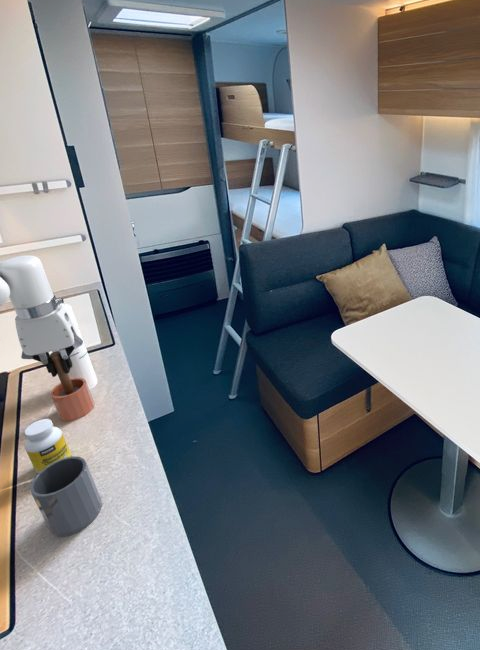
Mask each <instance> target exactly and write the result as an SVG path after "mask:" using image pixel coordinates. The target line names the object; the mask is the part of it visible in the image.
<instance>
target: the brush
mask: <svg viewBox="0 0 480 650" xmlns="http://www.w3.org/2000/svg"><path fill="white" fill-rule="evenodd" d="M49 354H50V357H51V359H52V362H53V364H54V367H55V369H56V372H57V376H58V379H59V383H61V384H62V387H63V389H64V392H62V394H61V396H65V395H69V394H71V393H73V392H75V391H77V390H78V389H79V388H78V387H73V384H72V382H71V379H70V377H69V374H68V373H65V371H64V369H63V366H62V363H61V359H62V358H61V357H62V356H61V354H60V352H59V351H55V352H53V353H52V352H50V353H49Z"/></svg>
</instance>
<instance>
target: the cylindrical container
mask: <svg viewBox="0 0 480 650" xmlns="http://www.w3.org/2000/svg"><path fill="white" fill-rule="evenodd" d="M60 305H61V306H63V308H64V309H65V311H66V312H67V314H68V316H69V317H70V319H71V321H72V323H73V326H74V328H75V330H76V333H77V336H78V337H79V338H81V339H82V340H83V344H82V345H81V346H79V347H78V348H76V349H74V350H73V352H72V353H71V354H70V355H69V356H70V359H71V361H72V365H73V366H72V367H71V368H70V372H69V373H68V374H69V377H70V379H73V378H83V379H85V380H86V382H87V385H88V387H89V390H92V389H94V387H96V385H97V384H98V378H97V374H96V371H95V369H94V367H93V364H92V361H91V358H90V356H89V352H88V350H87V347H86V344H85V341H84V339H83V336H82V333H81V331H80V328H79V324H78V322H77V319H76V315H75V314H74V311H73V308H72V305H70V304H69V303H63V304H60ZM55 351H59V350H55ZM55 351H51V353H53V352H55ZM59 352H60V351H59Z"/></svg>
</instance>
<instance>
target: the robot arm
mask: <svg viewBox="0 0 480 650" xmlns="http://www.w3.org/2000/svg"><path fill="white" fill-rule="evenodd" d="M9 300H10V302H11V305H12V307H13V309H14V311H15V314H16V316H15V319H14V322H15V329H16V334H17V338H18V341H19V344H20V348H21V350H22V351H21V359H22V360H34V361H37V362H40V363H41V364H42V365H45V367H46V370H47V373H48V374H50V375H51V377H52V378H55V377H56V376H58V374H57V372H56V369H55V367H54V364H53V362H52V359H51V357H50V354H51V352H52V351H55V350H59V351H60V354H61V356H62V357H61V358H62V359H61V363H62V366H63V369H64V371H65V373H69V372H70V368H71V367H72V366H73V365H72V361H71V359H70V356H69V355H70V354H71V353H72V352H73V350H74V349H76V348H78V347H79V346H81V345H82V344H83V341H84V339H83V340H82V339H81V338H79V337H78V336H77V333H76V330H75V328H74V326H73V323H72V321H71V319H70V317H69V316H68V314H67V312H66V311H65V309H64V308H63V306H61V305H60V304H65V303H64V298H63V297H60V298H58V297H56V295H55V294H54V292H53V290H52V287H51V284H50V281H49V279H48V277H47V273H46V271H45V267H44V265H43V263H42V261H41V259H40V258H39V257H38V256H36V255H32V254H31V255H30V254H26V255H17V256H14V257H11V258H8V259H5V260H2V261H0V308H2V307H3V306H4V305H5V304H6V303H7V302H8V301H9Z"/></svg>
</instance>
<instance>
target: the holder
mask: <svg viewBox="0 0 480 650" xmlns="http://www.w3.org/2000/svg"><path fill="white" fill-rule="evenodd" d="M71 382H72V384H73V387H78V388H79V389H78V390H77V391H75V392H73V393H71V394H69V395H65V396H61V394H62V392H64V389H63V387H62V384H61V382H59V383H58V384H57V385H55V386H54V387H53V388H52V389H50V392H49V396H50V399H51V401H52V403H53V406H54V408H55V411H56V413H57V415H58V417H59V419H60V421H62V422H73V421H76V420H79V419H82V418H84V417H85V416H87V415H88V414H89V413H91V412H92V410H93V409H94V408H95V401H94V399H93V397H92V393H91V391H90V390H91V389H90V390H89V387H88V385H87V382H86V380H85V379H83V378H73V379H71Z"/></svg>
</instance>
